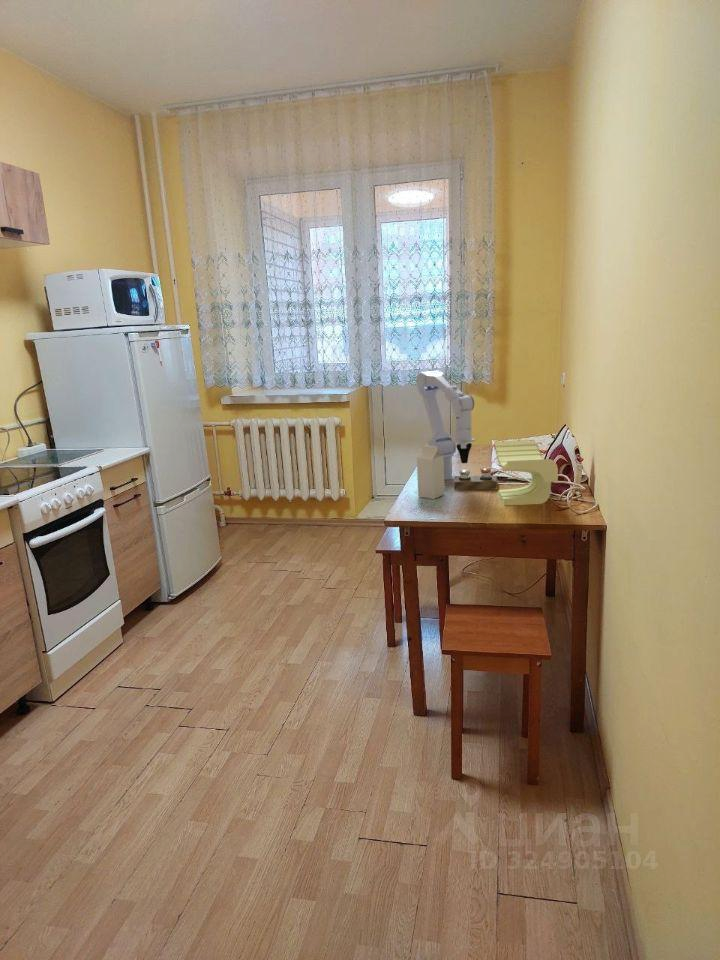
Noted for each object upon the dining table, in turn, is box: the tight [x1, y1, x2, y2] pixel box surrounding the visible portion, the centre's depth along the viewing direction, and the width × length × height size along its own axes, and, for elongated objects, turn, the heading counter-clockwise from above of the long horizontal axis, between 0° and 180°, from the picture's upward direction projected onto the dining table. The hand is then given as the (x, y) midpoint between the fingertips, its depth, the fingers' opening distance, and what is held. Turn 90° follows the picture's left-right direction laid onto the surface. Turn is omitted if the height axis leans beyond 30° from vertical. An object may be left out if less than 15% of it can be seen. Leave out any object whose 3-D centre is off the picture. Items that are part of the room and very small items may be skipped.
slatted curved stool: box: [494, 439, 559, 506], centre depth 207 cm, size 30×16×18 cm, turn 175°
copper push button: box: [479, 467, 492, 480], centre depth 226 cm, size 4×4×4 cm
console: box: [453, 475, 498, 490], centre depth 228 cm, size 16×8×3 cm, turn 79°
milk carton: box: [416, 444, 446, 500], centre depth 217 cm, size 7×7×19 cm
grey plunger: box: [459, 468, 471, 480], centre depth 228 cm, size 4×4×4 cm
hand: (464, 462), depth 226 cm, fingers closed
